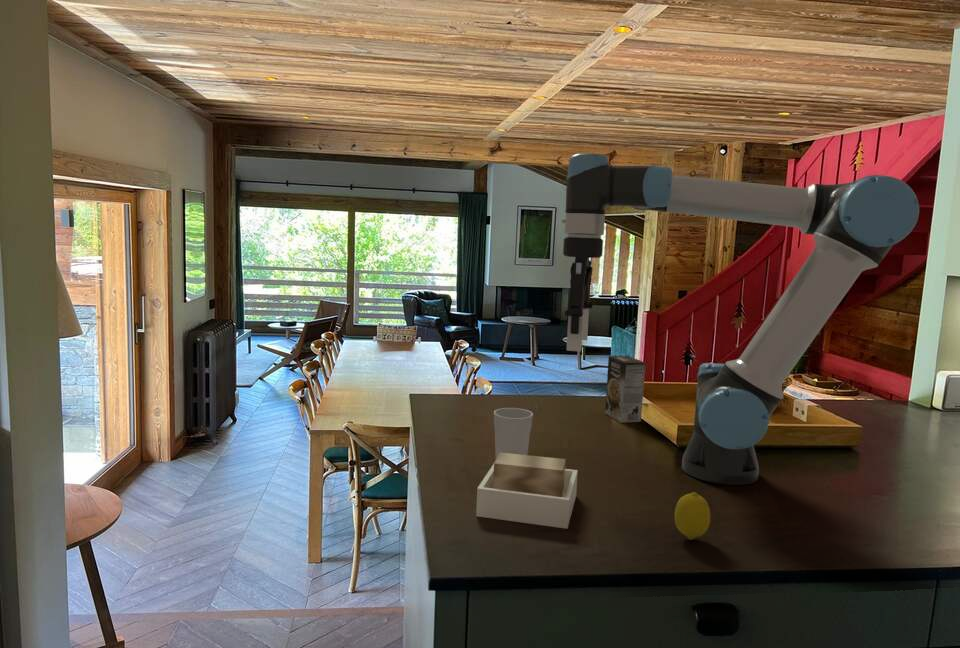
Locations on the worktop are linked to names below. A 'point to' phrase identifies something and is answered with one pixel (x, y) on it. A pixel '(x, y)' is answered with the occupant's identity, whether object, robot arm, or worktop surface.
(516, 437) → the cup
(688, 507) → the lemon
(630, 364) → the coffee box
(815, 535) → the worktop surface
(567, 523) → the white open box
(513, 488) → the beige rectangular block
